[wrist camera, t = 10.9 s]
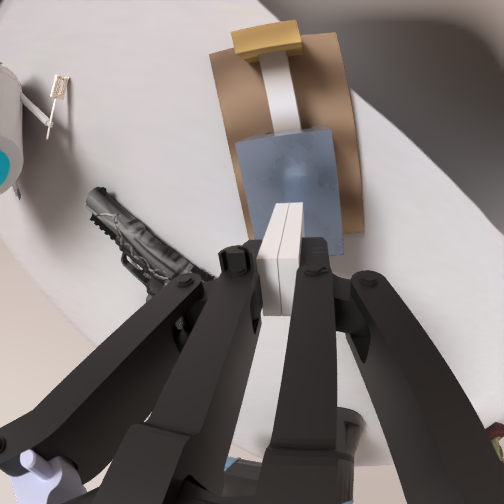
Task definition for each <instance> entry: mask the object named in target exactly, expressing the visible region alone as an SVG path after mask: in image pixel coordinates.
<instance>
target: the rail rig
mask: <svg viewBox="0 0 504 504" xmlns="http://www.w3.org/2000/svg"><path fill="white" fill-rule="evenodd" d="M231 36H232V40H233V44H234V48H231V49H227V50H223V51H219V52H216V53H212V54H209V57H210V61H211V66H212V71H213V75H214V80H215V84H216V89H217V94H218V98H219V103H220V108H221V112H222V117H223V122H224V126H225V131H226V136H227V140H228V145H229V150H230V154H231V159H232V163H233V168H234V173H235V177H236V182H237V187H238V191H239V196H240V201H241V205H242V210H243V214H244V219H245V224H246V228H247V233H248V238H249V240H254V239H255V238H254V233H253V228H252V223H251V219H250V214H249V209H248V204H247V199H246V195H245V190H244V185H243V180H242V175H241V171H240V166H239V161H238V156H237V152H236V147H235V143H236V142H239V141H241V140H243V139H245V138H248V137H250V136H252V135H255V134H259V133H266V132H268V133H269V134H272V133H278V132H285V131H292V130H300V129H309V128H311V126H318V125H325V126H327V127H328V128H330V129H331V131H332V138H333V145H334V152H335V160H336V168H337V177H338V186H339V196H340V207H341V220H342V234H348V233H360V232H364V230H363V207H362V191H361V179H360V167H359V158H358V149H357V140H356V133H355V125H354V119H353V112H352V106H351V100H350V94H349V89H348V84H347V78H346V74H345V69H344V64H343V59H342V55H341V51H340V47H339V43H338V39H337V35H336V33H322V34H312V35H302V36H300V34H299V30H298V26H297V22H296V20H291V21H284V22H277V23H271V24H266V25H260V26H255V27H251V28H246V29H242V30H237V31H233V32H231Z"/></svg>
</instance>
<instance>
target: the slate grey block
mask: <svg viewBox="0 0 504 504" xmlns="http://www.w3.org/2000/svg"><path fill="white" fill-rule="evenodd" d="M235 147H236V152H237V156H238V161H239V166H240V171H241V175H242V180H243V185H244V190H245V195H246V199H247V204H248V209H249V214H250V219H251V223H252V228H253V233H254V238H255V239H264V236H265V233H266V230H267V227H268V225H269V222H270V219H271V216H272V213H273V210H274V208H275V205H276V203H289V204H290V203H299V202H303V213H304V233H305V237H323V238H324V239H325V240H326V241H327V244H328V254H329V256H331V255H343V254H344V253H343V235H342V220H341V207H340V196H339V186H338V177H337V168H336V160H335V152H334V145H333V138H332V131H331V129H330V128H328V127H327V126H325V125H318V126H311V128H309V129H300V130H292V131H285V132H278V133H272V134H269V133H268V132H266V133H259V134H255V135H252V136H250V137H248V138H245V139H243V140H241V141H239V142H236V143H235Z"/></svg>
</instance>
